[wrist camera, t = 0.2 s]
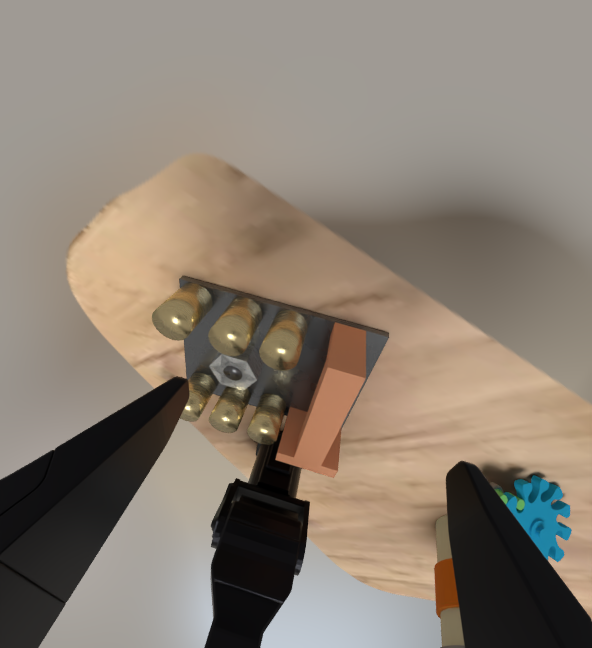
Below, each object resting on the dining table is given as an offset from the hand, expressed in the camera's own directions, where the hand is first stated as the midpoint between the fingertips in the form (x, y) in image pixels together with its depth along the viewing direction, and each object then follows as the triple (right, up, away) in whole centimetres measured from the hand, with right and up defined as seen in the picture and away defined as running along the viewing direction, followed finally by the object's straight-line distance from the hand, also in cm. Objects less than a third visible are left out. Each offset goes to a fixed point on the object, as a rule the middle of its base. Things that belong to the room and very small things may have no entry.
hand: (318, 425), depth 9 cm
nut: (-6, 0, +18) cm, 19 cm away
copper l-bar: (+2, -2, +18) cm, 18 cm away
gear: (+24, -15, +22) cm, 36 cm away
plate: (-3, 0, +19) cm, 19 cm away
